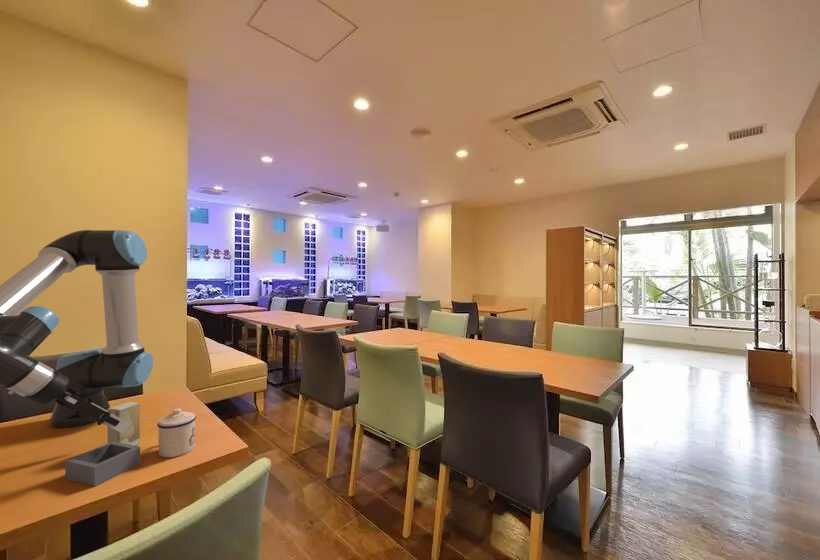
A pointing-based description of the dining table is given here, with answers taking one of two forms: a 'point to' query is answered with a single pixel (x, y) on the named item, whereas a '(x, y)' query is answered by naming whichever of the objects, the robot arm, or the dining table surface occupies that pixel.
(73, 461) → the tray
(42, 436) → the dining table surface
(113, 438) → the skincare box
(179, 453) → the teacup with lid
